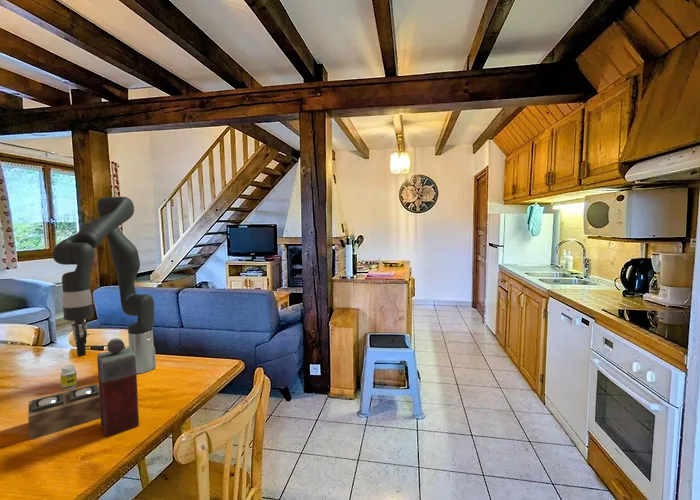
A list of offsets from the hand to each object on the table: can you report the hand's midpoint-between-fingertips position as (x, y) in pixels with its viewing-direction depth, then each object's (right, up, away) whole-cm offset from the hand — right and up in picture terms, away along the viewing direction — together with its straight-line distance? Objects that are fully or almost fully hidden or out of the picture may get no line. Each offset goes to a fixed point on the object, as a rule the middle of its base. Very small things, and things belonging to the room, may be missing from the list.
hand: (81, 355), depth 114 cm
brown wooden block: (-3, -21, -1) cm, 21 cm away
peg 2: (0, -19, +1) cm, 19 cm away
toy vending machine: (+15, -21, -4) cm, 26 cm away
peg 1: (-7, -20, -5) cm, 21 cm away
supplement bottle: (-21, -19, +21) cm, 35 cm away
